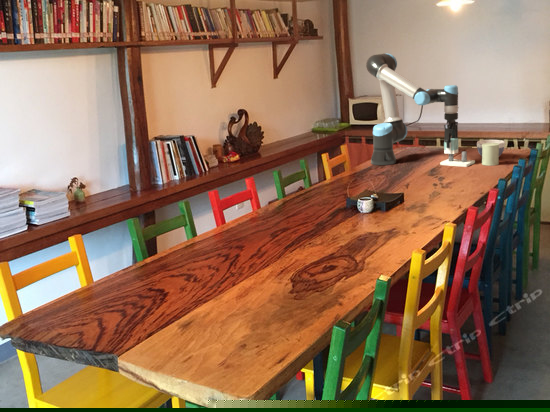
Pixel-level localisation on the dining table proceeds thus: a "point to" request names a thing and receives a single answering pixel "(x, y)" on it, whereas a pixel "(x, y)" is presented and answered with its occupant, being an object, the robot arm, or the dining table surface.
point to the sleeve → (452, 146)
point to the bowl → (500, 142)
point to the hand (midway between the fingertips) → (451, 152)
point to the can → (490, 154)
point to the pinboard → (458, 160)
